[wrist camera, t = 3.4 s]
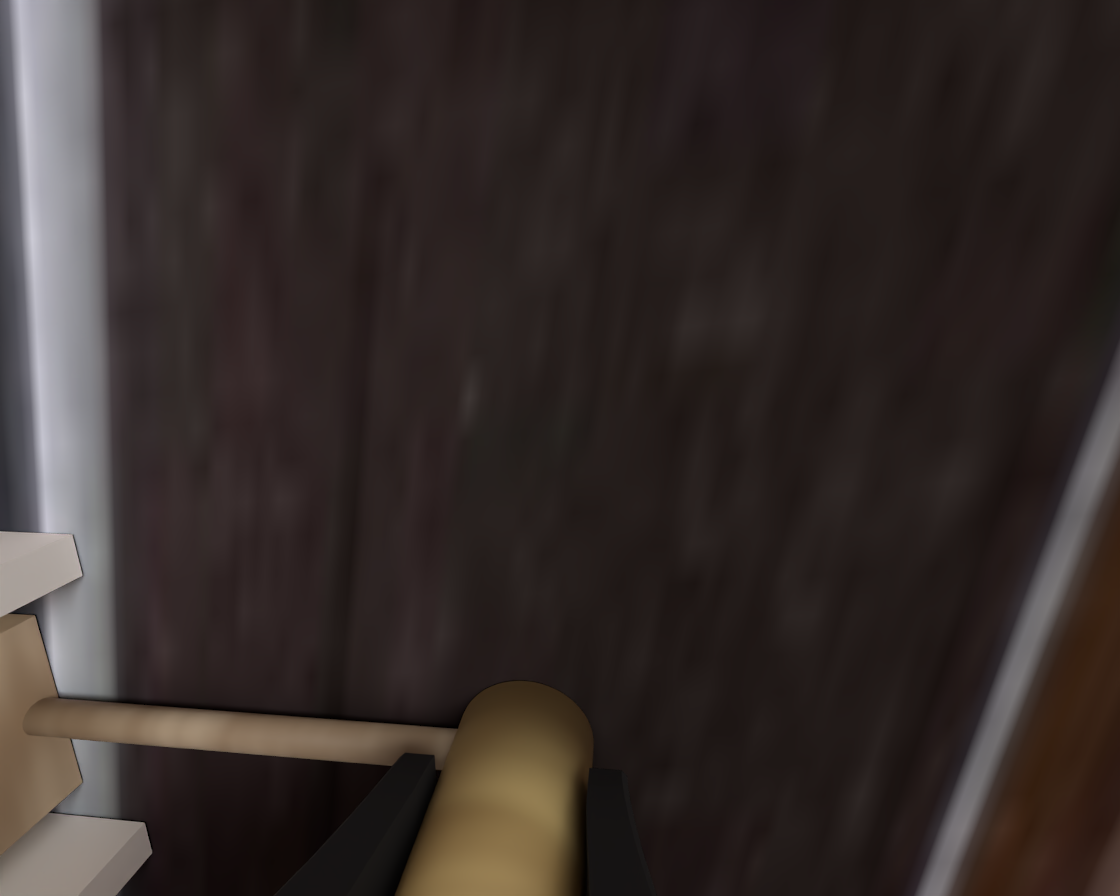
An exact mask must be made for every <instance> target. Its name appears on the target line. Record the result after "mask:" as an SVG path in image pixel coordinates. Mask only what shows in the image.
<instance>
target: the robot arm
mask: <svg viewBox="0 0 1120 896" xmlns="http://www.w3.org/2000/svg"><path fill="white" fill-rule="evenodd" d="M436 785H437V780H436V767H435V755H428V754H416V753H404V754H403V755H402V756H400V757H399V758H398V760H397V761H396V762H395V763H394V764H393V766H392V767H391V768H390V769H389V770H388V771H387V773H386V774H385V775H384V776H383V777H382V779H381V780H380V781H379V782H378V783H377V784H376V786H375V787H374V788H373V789H372V790H371V791H370V793H369V794H368V795H367V796H366V797H365V798H364V799H363V801H362V802H361V803H360V804H359V805H358V806H357V807H356V809H355V810H354V811H353V812H352V813H351V814H350V815H349V817H348V818H347V819H346V820H345V821H344V822H343V823H342V824H341V825H340V826H339V827H338V829H337V830H336V831H335V832H334V833H333V834H332V835H331V836H330V837H329V838H328V840H327V841H326V842H325V843H324V844H323V845H322V846H321V847H320V848H319V849H318V850H317V851H316V853H315V854H314V855H313V856H312V857H311V858H310V859H309V860H308V861H307V862H306V863H305V864H304V865H303V866H302V867H301V868H300V869H299V870H298V871H297V872H296V873H295V874H294V875H293V876H292V877H291V878H290V879H289V880H288V881H287V882H286V883H285V884H284V885H283V886H282V887H281V888H280V889H279V890H278V891H277V892H276V893H275V894H274V895H273V896H394V895H395V893H396V890H397V887H398V885H399V882H400V879H401V877H402V874H403V872H404V869H405V866H406V864H407V861H408V858H409V856H410V853H411V850H412V848H413V845H414V843H415V840H416V837H417V835H418V832H419V829H420V827H421V824H422V822H423V819H424V816H425V814H426V811H427V808H428V806H429V803H430V800H431V798H432V795H433V793H434V790H435V787H436ZM585 896H657V894H656V891H655V888H654V885H653V882H652V879H651V876H650V873H649V870H648V867H647V863H646V860H645V857H644V854H643V850H642V847H641V843H640V840H639V836H638V832H637V828H636V824H635V820H634V816H633V812H632V807H631V802H630V796H629V790H628V782H627V776H626V775H625V774H624V772H623V771H622V770H611V769H598V768H589V777H588V788H587V801H586V886H585Z"/></svg>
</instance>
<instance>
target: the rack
mask: <svg viewBox="0 0 1120 896" xmlns="http://www.w3.org/2000/svg"><path fill="white" fill-rule="evenodd" d="M81 576H83V575H82V571H81V567H80V563H79V559H78V555H77V551H76V547H75V544H74V540H73V536H72V534H49V533H26V532H2V531H0V617H2V616H4V615H6V614H8V613H10V612H12V611H14V610H16V609H18V608H20V607H22V606H24V605H26V604H28V603H30V602H32V601H34V600H36V599H38V598H40V597H42V596H44V595H46V594H48V593H49V592H51V591H53V590H55V589H57V588H59V587H61V586H63V585H65V584H67V583H69V582H71V581H73V580H75V579H77V578H79V577H81ZM151 854H152V849H151V845H150V841H149V837H148V833H147V829H146V826H145V823H144V822H134V821H124V820H114V819H104V818H95V817H85V816H75V815H65V814H55V813H48V814H47V815H45V816H44V817H43V818H42V819H41V820H40V821H39V822H38V823H36V824H35V825H34V826H33V827H32V828H31V829H30V830H29V831H28V832H26V833H25V834H24V835H23V836H22V837H21V838H20V839H19V840H17V841H16V842H15V843H14V844H13V845H12V846H11V847H10V848H8V849H7V850H6V851H5V852H4V853H3V854H2V855H1V856H0V896H116V895H117V894H118V893H119V891H120V890H121V889H122V888H123V887H124V886H125V884H126V883H127V882H128V881H129V880H130V878H131V877H132V876H133V875H134V874H135V873H136V871H137V870H138V869H139V868H140V867H141V866H142V864H143V863H144V862H145V861H146V860H147V858H148V857H149V856H150V855H151Z"/></svg>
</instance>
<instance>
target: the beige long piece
mask: <svg viewBox="0 0 1120 896" xmlns="http://www.w3.org/2000/svg"><path fill="white" fill-rule="evenodd" d="M70 739H80V740H92V741H104V742H116V743H127V744H139V745H151V746H163V747H175V748H186V749H198V750H210V751H222V752H234V753H246V754H257V755H269V756H281V757H293V758H305V759H316V760H328V761H340V762H352V763H364V764H375V765H387V766H393V764H394V763H395V762H396V761H397V760H398V758H399V757H400V756H402V755H403V754H404V753H416V754H428V755H435V767H436V770H442V771H441V774H440V777H439V779H438V782H437V785H436V787H435V790H434V793H433V795H432V798H431V800H430V803H429V806H428V808H427V811H426V814H425V816H424V819H423V822H422V824H421V827H420V829H419V832H418V835H417V837H416V840H415V843H414V845H413V848H412V850H411V853H410V856H409V858H408V861H407V864H406V866H405V869H404V872H403V874H402V877H401V879H400V882H399V885H398V887H397V890H396V893H395V895H394V896H585V886H586V801H587V788H588V777H589V768H592V764H593V747H594V741H593V734H592V729H591V726H590V724H589V721H588V720H587V718H586V716H585V714H584V713H583V712H582V710H581V709H580V708H579V707H578V706H577V705H576V704H575V702H574V701H572V700H571V699H570V698H569V697H567V696H566V695H564V694H563V693H561V692H560V691H558V690H556V689H554V688H552V687H549V686H546V685H543V684H540V683H535V682H529V681H510V682H504V683H500V684H496V685H494V686H491V687H489V688H487V689H485V690H483V691H482V692H481V693H479V694H478V695H477V696H476V697H475V698H474V699H473V700H472V701H471V702H470V703H469V705H468V706H467V708H466V710H465V711H464V714H463V716H462V719H461V721H460V724H459V727H458V729H453V728H440V727H427V726H414V725H401V724H388V723H374V722H361V721H348V720H335V719H322V718H309V717H296V716H283V715H270V714H257V713H244V712H231V711H217V710H204V709H191V708H178V707H165V706H152V705H139V704H126V703H113V702H100V701H87V700H74V699H60V698H58V694H57V691H56V687H55V684H54V680H53V677H52V673H51V670H50V666H49V663H48V659H47V656H46V652H45V649H44V645H43V642H42V638H41V635H40V631H39V628H38V624H37V621H36V617H35V615H21V614H6V615H4V616H2V617H0V856H1V855H2V854H3V853H4V852H5V851H6V850H7V849H8V848H10V847H11V846H12V845H13V844H14V843H15V842H16V841H17V840H19V839H20V838H21V837H22V836H23V835H24V834H25V833H26V832H28V831H29V830H30V829H31V828H32V827H33V826H34V825H35V824H36V823H38V822H39V821H40V820H41V819H42V818H43V817H44V816H45V815H47V814H48V813H49V812H50V811H51V810H52V809H53V808H54V807H56V806H57V805H58V804H59V803H60V802H61V801H62V800H63V799H65V798H66V797H67V796H68V795H69V794H70V793H71V792H72V791H73V790H75V789H76V788H77V787H78V786H79V785H80V784H81V783H82V779H81V776H80V772H79V768H78V765H77V761H76V758H75V754H74V751H73V747H72V744H71V740H70Z"/></svg>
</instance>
